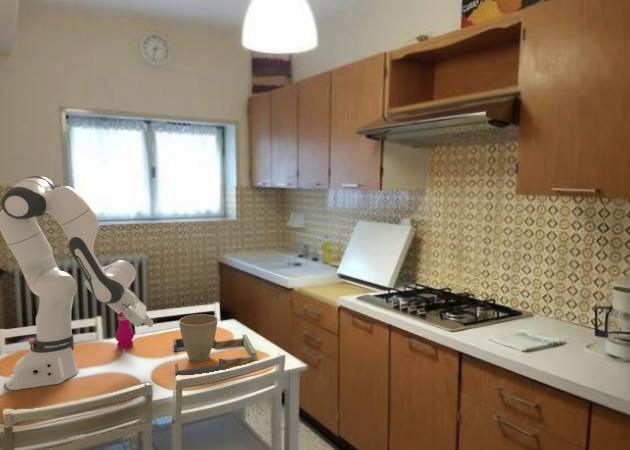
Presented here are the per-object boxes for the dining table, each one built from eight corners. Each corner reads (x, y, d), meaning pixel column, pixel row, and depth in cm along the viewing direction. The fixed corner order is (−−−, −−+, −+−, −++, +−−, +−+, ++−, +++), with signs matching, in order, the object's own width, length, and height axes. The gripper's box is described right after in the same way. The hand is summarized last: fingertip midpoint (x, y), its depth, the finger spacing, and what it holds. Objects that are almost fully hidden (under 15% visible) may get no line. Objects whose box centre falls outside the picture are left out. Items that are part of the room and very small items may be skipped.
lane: (222, 367, 174) (221, 356, 174) (215, 346, 197) (215, 337, 196) (256, 362, 179) (256, 352, 178) (246, 343, 201) (246, 334, 200)
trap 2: (175, 379, 163) (175, 371, 163) (175, 371, 170) (175, 363, 170) (224, 373, 168) (224, 365, 168) (221, 366, 175) (221, 358, 175)
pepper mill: (129, 349, 193) (128, 302, 192) (112, 349, 194) (111, 302, 192) (136, 343, 201) (135, 298, 199) (120, 343, 201) (118, 298, 199)
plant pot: (194, 368, 173) (193, 327, 171) (172, 359, 182) (171, 319, 181) (226, 357, 184) (225, 318, 183) (203, 349, 194) (203, 312, 192)
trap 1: (173, 351, 190) (173, 344, 190) (173, 345, 198) (173, 339, 197) (215, 347, 196) (215, 340, 195) (213, 341, 203) (213, 335, 203)
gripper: (127, 302, 163) (157, 326, 167) (131, 289, 183) (158, 311, 187) (114, 315, 162) (145, 339, 166) (120, 301, 182) (147, 323, 186)
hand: (152, 324), depth 177 cm, fingers closed
